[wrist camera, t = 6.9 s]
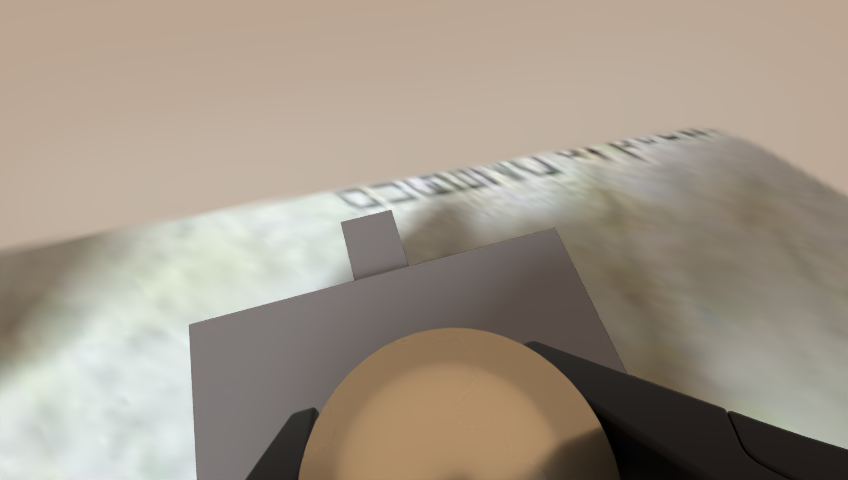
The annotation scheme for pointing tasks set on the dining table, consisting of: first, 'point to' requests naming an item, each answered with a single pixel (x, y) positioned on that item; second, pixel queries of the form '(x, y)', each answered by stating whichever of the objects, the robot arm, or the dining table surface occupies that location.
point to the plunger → (457, 416)
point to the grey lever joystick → (374, 331)
